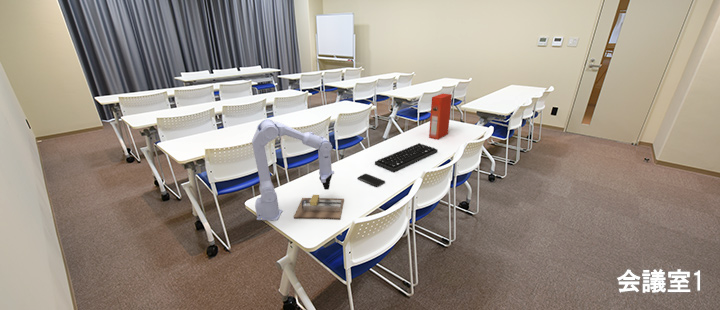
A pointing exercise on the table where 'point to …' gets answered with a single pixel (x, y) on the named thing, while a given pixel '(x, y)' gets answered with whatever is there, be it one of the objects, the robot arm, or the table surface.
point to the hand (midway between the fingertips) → (326, 188)
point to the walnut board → (317, 214)
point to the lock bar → (314, 200)
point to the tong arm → (328, 201)
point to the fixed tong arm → (321, 207)
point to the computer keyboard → (405, 157)
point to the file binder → (440, 116)
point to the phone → (371, 180)
